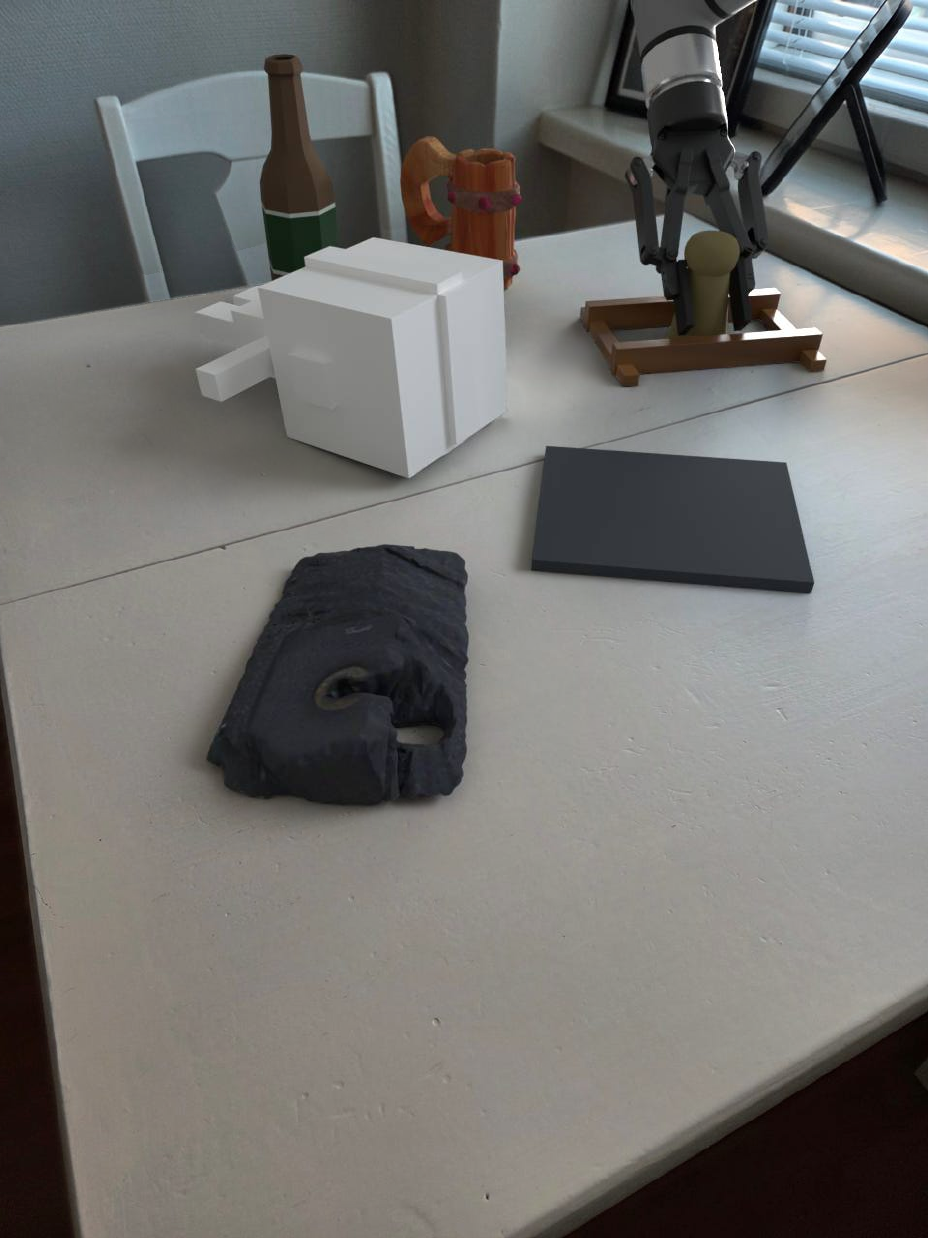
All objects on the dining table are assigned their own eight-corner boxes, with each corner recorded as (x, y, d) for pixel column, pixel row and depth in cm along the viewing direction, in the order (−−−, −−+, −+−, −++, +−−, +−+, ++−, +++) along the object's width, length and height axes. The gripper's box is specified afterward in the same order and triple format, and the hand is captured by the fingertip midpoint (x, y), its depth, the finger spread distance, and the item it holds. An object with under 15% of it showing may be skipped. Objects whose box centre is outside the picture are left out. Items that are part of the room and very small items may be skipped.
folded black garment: (498, 576, 69) (499, 522, 66) (457, 822, 53) (457, 766, 49) (292, 559, 70) (285, 505, 67) (191, 793, 54) (174, 737, 51)
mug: (534, 284, 109) (541, 143, 99) (500, 310, 104) (504, 163, 94) (427, 260, 115) (423, 124, 105) (389, 283, 110) (382, 142, 100)
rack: (577, 317, 103) (579, 292, 101) (761, 304, 105) (766, 279, 103) (620, 387, 91) (623, 359, 89) (826, 370, 93) (833, 343, 92)
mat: (783, 472, 80) (786, 462, 79) (811, 593, 68) (814, 582, 67) (545, 455, 81) (546, 445, 81) (531, 570, 70) (531, 559, 69)
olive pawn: (699, 361, 95) (719, 250, 87) (654, 340, 98) (669, 232, 91) (738, 344, 98) (760, 235, 90) (692, 325, 101) (710, 219, 94)
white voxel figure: (330, 339, 102) (548, 396, 89) (145, 434, 88) (373, 520, 74) (307, 194, 93) (547, 232, 79) (97, 272, 78) (347, 336, 64)
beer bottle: (319, 284, 109) (295, 44, 93) (358, 306, 105) (339, 58, 89) (260, 302, 105) (225, 55, 89) (298, 325, 101) (267, 69, 85)
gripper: (754, 118, 99) (784, 335, 98) (586, 126, 97) (614, 348, 96) (787, 72, 92) (820, 306, 90) (605, 79, 89) (637, 319, 88)
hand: (714, 327), depth 93 cm, fingers closed on olive pawn, 5 cm apart
